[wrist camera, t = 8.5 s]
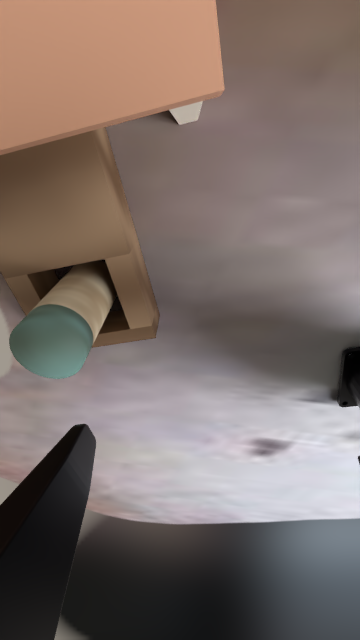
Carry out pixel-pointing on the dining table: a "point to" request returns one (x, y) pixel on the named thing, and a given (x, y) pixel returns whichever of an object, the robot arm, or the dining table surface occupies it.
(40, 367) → the peg
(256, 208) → the dining table surface
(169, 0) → the footed pink board
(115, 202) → the socket block
